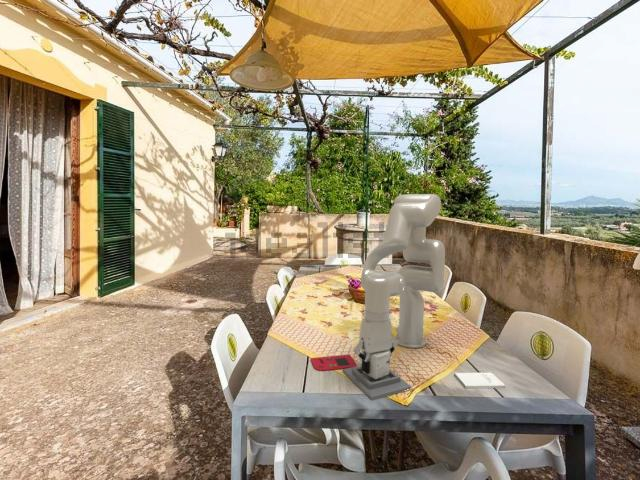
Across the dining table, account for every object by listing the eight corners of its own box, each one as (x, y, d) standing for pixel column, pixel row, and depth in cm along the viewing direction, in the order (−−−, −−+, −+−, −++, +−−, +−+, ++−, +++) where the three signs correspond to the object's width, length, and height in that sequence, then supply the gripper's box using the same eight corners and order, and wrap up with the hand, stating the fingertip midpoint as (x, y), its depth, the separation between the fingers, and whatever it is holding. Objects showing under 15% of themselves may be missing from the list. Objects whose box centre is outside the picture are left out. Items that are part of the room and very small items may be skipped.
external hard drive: (453, 377, 113) (490, 376, 113) (465, 390, 104) (504, 389, 105) (453, 372, 112) (490, 371, 113) (465, 385, 104) (505, 384, 105)
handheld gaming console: (310, 357, 124) (349, 353, 127) (310, 360, 124) (349, 357, 127) (315, 369, 114) (358, 365, 118) (315, 373, 115) (358, 369, 118)
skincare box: (375, 380, 105) (376, 357, 104) (362, 372, 110) (362, 350, 109) (389, 374, 108) (390, 352, 107) (375, 366, 113) (376, 345, 112)
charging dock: (342, 372, 114) (342, 362, 114) (378, 364, 120) (378, 354, 120) (372, 400, 98) (372, 388, 98) (411, 389, 104) (411, 378, 103)
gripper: (392, 308, 114) (391, 359, 116) (346, 315, 107) (346, 369, 109) (406, 315, 107) (405, 369, 109) (358, 323, 100) (358, 380, 102)
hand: (375, 369), depth 109 cm, fingers closed on skincare box, 6 cm apart
